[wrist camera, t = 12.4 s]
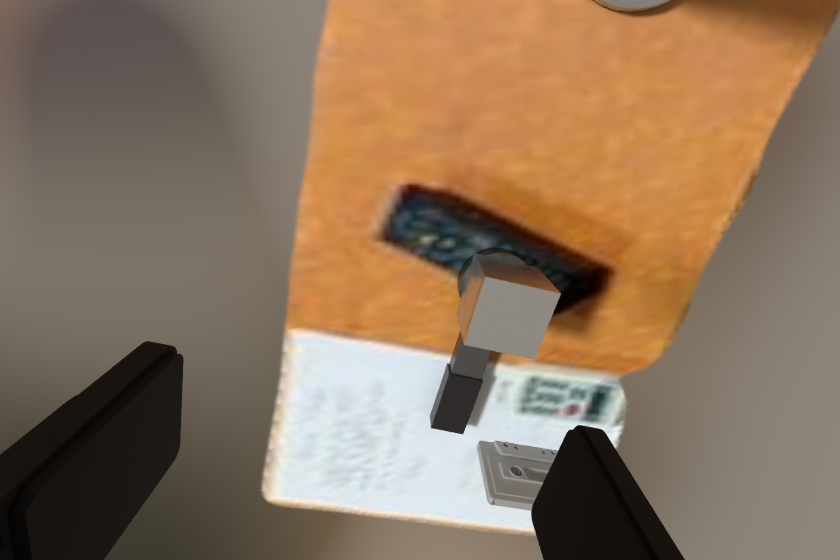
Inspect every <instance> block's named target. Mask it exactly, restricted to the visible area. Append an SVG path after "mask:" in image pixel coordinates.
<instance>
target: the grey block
mask: <svg viewBox="0 0 840 560" xmlns="http://www.w3.org/2000/svg"><path fill="white" fill-rule="evenodd" d="M560 295H561V293H560V292H559V291H558V290H557V289H556V287H555V286H554V285H553V284H552V283H551V282H550V281H549V280H548V278H547V277H546V276H545V275H544V274H543V273H542V272H541V270H540V269H539V268H538V267H534V266H529V265H525V264H520V263H516V262H512V261H507V260H503V259H499V258H494V257H490V256H486V255H481V254H477V253H474V256H473V259H472V262H471V266H470V269H469V272H468V276H467V279H466V282H465V286H464V289H463V292H462V296H461V299H460V302H459V305H458V309H457V312H456V313H457V317H458V321H459V325H460V330H461V334H462V338H463V343H464V345H467V346H472V347H477V348H481V349H486V350H491V351H496V352H501V353H506V354H511V355H516V356H521V357H525V358H530V359H535V357H536V355H537V352H538V350H539V347H540V345H541V342H542V340H543V337H544V335H545V332H546V330H547V327H548V325H549V322H550V320H551V317H552V315H553V312H554V310H555V307H556V305H557V302H558V300H559V297H560Z"/></svg>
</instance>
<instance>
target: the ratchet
mask: <svg viewBox="0 0 840 560" xmlns="http://www.w3.org/2000/svg"><path fill="white" fill-rule="evenodd" d="M477 254H481V255H486V256H490V257H494V258H499V259H503V260H507V261H512V262H516V263H520V264H525V265H527V264H526V263H525V262H524V261H523V260H522V258H521V257H520V256H518V255H517V254H516V253H514V252H512V251H510V250H508V249H504V248H488V249H484V250H481V251H479V252H477ZM473 256H474V255H472V256H471V257H470V258H469V259H468V260H467V261H466V262H465V263H464V265H463V266H462V268H461V270H460V273H459V276H458V291H459V295H460V298H461V296H462V292H463V289H464V286H465V282H466V279H467V276H468V272H469V269H470V266H471V262H472V259H473ZM490 354H491V350H486V349H481V348H477V347H472V346H467V345H464V343H463V338H462V334H461V330H460V333H459V336H458V339H457V342H456V345H455V348H454V351H453V354H452V357H451V360H450V363H449V364H448V363H447V366H446V369H445V372H444V375H443V378H442V381H441V384H440V387H439V390H438V393H437V396H436V399H435V402H434V405H433V408H432V411H431V415H430V421H431V428H434V429H439V430H444V431H449V432H454V433H459V434H463V433H464V430H465V428H466V425H467V422H468V420H469V417H470V414H471V412H472V409H473V406H474V404H475V401H476V398H477V396H478V393H479V390H480V388H481V385H482V382H483V380H482V375H483V372H484V370H485V367H486V364H487V362H488V359H489V356H490Z"/></svg>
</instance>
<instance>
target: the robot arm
mask: <svg viewBox="0 0 840 560" xmlns="http://www.w3.org/2000/svg"><path fill="white" fill-rule="evenodd" d="M594 1H595V2H597V3H598V4H600V5H602V6H605V7H608V8H610V9H613V10H618V11H626V12H633V11H643V10H647V9H651V8H654V7H657V6H660V5H662V4H664V3H666V2H668V1H670V0H594ZM182 381H183V356H182V355H181V354H177V350H176V348H175V347H173V346H170V345H165V344H160V343H155V342H150V341H147V342H144V343H142V344H141V345H140V346H138V347H137V348H136V349H135V350H133V351H132V352H131V353H130V354H129V355H127V356H126V357H125V358H124V359H122V360H121V361H120V362H119V363H117V364H116V365H115V366H114V367H112V368H111V369H110V370H109V371H107V372H106V373H105V374H104V375H102V376H101V377H100V378H99V379H97V380H96V381H95V382H94V383H92V384H91V385H90V386H89V387H88V388H86V389H85V390H84V391H82V392H81V393H80V394H79V395H76V396H75V397H73V398H71V399H70V400H68V401H67V402H66V403H65V404H63V405H62V406H61V407H59V408H58V409H57V410H56V411H55V412H53V413H52V414H51V415H50V416H48V417H47V418H46V419H44V420H43V421H42V422H41V423H39V424H38V425H37V426H36V427H35V428H33V429H32V430H31V431H29V432H28V433H27V434H26V435H24V436H23V437H22V438H21V439H19V440H18V441H17V442H16V443H14V444H13V445H12V446H11V447H9V449H7V450H6V451H4V452H3V453H2V454H1V455H0V560H104V559H105V557H106V556H107V554H108V553H109V552H110V550H111V549H112V547H113V546H114V545H115V543H116V542H117V540H118V539H119V538H120V536H121V535H122V533H123V532H124V531H125V529H126V528H127V526H128V525H129V523H130V522H131V521H132V519H133V518H134V517H135V515H136V514H137V512H138V511H139V510H140V508H141V507H142V505H143V504H144V503H145V501H146V500H147V498H148V497H149V495H150V494H151V493H152V491H153V490H154V488H155V487H156V486H157V484H158V483H159V481H160V480H161V479H162V477H163V476H164V474H165V473H166V472H167V470H168V469H169V467H170V466H171V465H172V463H173V462H174V460H175V458H176V456H177V454H178V451H179V447H180V434H181V433H180V432H181V408H182V383H183V382H182ZM531 516H532V522H533V526H534V529H535V532H536V536H537V539H538V542H539V546H540V549H541V552H542V555H543V559H544V560H685V559H684V558H683V556H682V555H681V553H680V551H679V550H678V548H677V547H676V545H675V543H674V542H673V540H672V539H671V537H670V535H669V534H668V532H667V531H666V529H665V527H664V526H663V524H662V523H661V521H660V519H659V518H658V516H657V515H656V513H655V511H654V510H653V508H652V507H651V505H650V504H649V502H648V500H647V499H646V497H645V496H644V494H643V492H642V491H641V489H640V488H639V486H638V484H637V483H636V481H635V480H634V478H633V477H632V475H631V473H630V472H629V470H628V468H627V467H626V465H625V464H624V462H623V460H622V459H621V457H620V456H619V454H618V452H617V451H616V449H615V448H614V446H613V444H612V443H611V441H610V440H609V438H608V436H607V435H606V433H605V432H604V431H603V430H601V429H598V428H593V427H587V426H582V425H577V426H576V427H575V428H574V429H573V430H569V431H568V432H567V434H566V436H565V438H564V440H563V442H562V444H561V446H560V448H559V450H558V453H557V455H556V457H555V459H554V461H553V463H552V465H551V467H550V469H549V471H548V473H547V476H546V478H545V480H544V482H543V484H542V486H541V488H540V490H539V492H538V494H537V497H536V499H535V501H534V503H533V506H532V510H531Z"/></svg>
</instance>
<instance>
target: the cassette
mask: <svg viewBox="0 0 840 560" xmlns="http://www.w3.org/2000/svg"><path fill="white" fill-rule="evenodd" d="M477 451H478V456H479V461H480V466H481V471H482V476H483V481H484V486H485V491H486V496H487V500H488V503H489V504H491V505H497V506H504V507H511V508H517V509H524V510H532V506H533V503H534V501H535V499H536V497H537V494H538V492H539V490H540V488H541V486H542V484H543V482H544V480H545V478H546V476H547V473H548V471H549V469H550V467H551V465H552V463H553V461H554V459H555V457H556V455H557V453H558V451H555V450H549V449H543V448H537V447H531V446H525V445H519V444H512V443H506V442H500V441H494V442H485V441H479V443H478V445H477Z"/></svg>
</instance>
